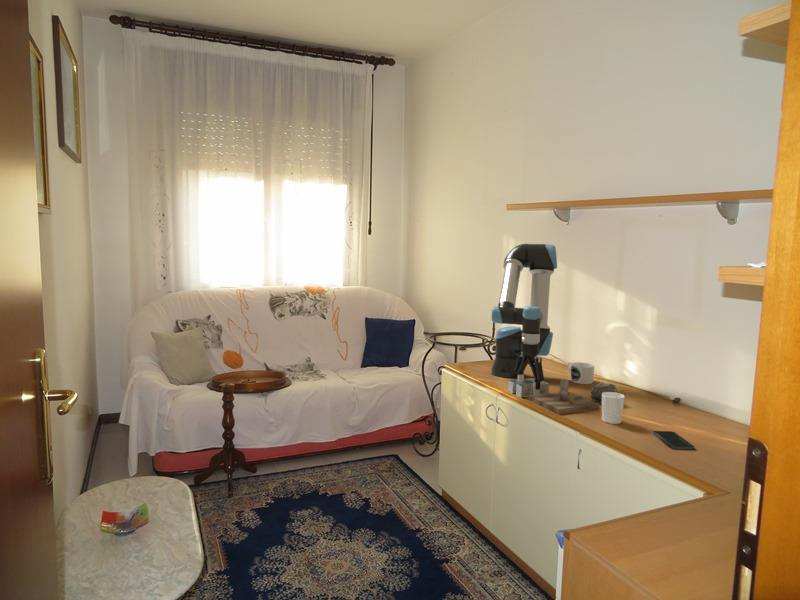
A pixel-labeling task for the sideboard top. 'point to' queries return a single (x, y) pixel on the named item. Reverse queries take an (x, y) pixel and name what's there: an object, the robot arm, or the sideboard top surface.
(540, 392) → the grey block
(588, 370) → the mug
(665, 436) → the phone
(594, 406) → the base
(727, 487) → the sideboard top surface
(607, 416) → the white cup
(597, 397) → the fossil
